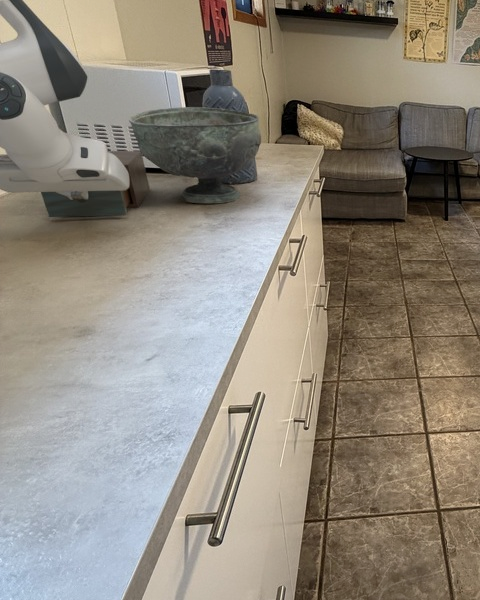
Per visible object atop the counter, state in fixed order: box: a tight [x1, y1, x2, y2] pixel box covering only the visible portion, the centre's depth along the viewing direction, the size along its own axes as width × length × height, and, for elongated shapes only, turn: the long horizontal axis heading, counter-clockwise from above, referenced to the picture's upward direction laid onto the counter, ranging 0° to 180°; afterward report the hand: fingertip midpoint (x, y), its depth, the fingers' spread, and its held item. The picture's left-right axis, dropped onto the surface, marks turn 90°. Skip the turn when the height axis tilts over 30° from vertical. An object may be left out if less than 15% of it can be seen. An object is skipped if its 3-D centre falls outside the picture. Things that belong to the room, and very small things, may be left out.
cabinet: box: [108, 150, 151, 209], centre depth 109 cm, size 16×15×10 cm
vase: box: [202, 68, 258, 185], centre depth 128 cm, size 12×12×28 cm
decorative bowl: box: [127, 106, 262, 204], centre depth 113 cm, size 26×26×20 cm
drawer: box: [40, 188, 132, 218], centre depth 101 cm, size 16×13×8 cm
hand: (79, 196), depth 94 cm, fingers closed, pressing on drawer
